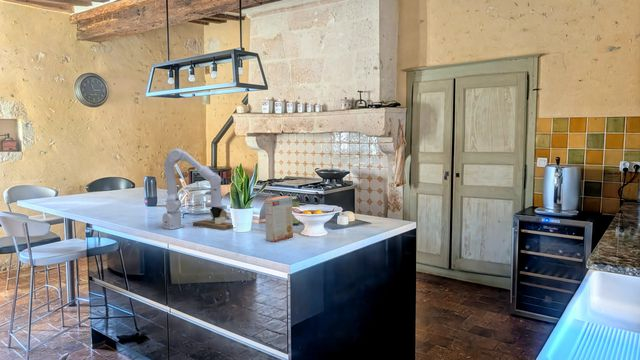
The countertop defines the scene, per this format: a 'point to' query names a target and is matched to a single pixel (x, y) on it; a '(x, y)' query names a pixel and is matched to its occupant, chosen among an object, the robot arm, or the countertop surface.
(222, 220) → the fader knob
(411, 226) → the countertop surface
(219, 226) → the fader console
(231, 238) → the countertop surface
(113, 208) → the countertop surface
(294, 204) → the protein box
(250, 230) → the countertop surface
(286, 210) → the cracker box
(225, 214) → the ceramic mug
